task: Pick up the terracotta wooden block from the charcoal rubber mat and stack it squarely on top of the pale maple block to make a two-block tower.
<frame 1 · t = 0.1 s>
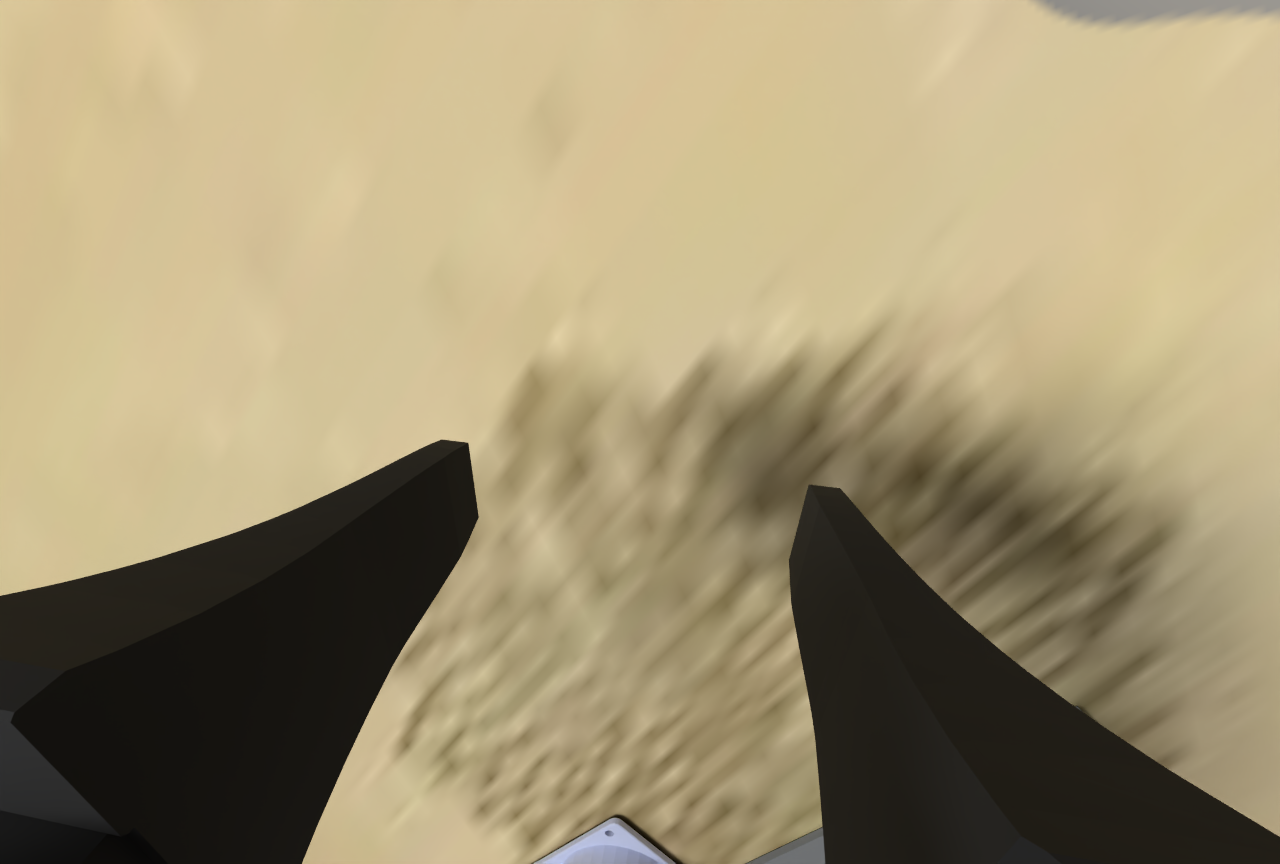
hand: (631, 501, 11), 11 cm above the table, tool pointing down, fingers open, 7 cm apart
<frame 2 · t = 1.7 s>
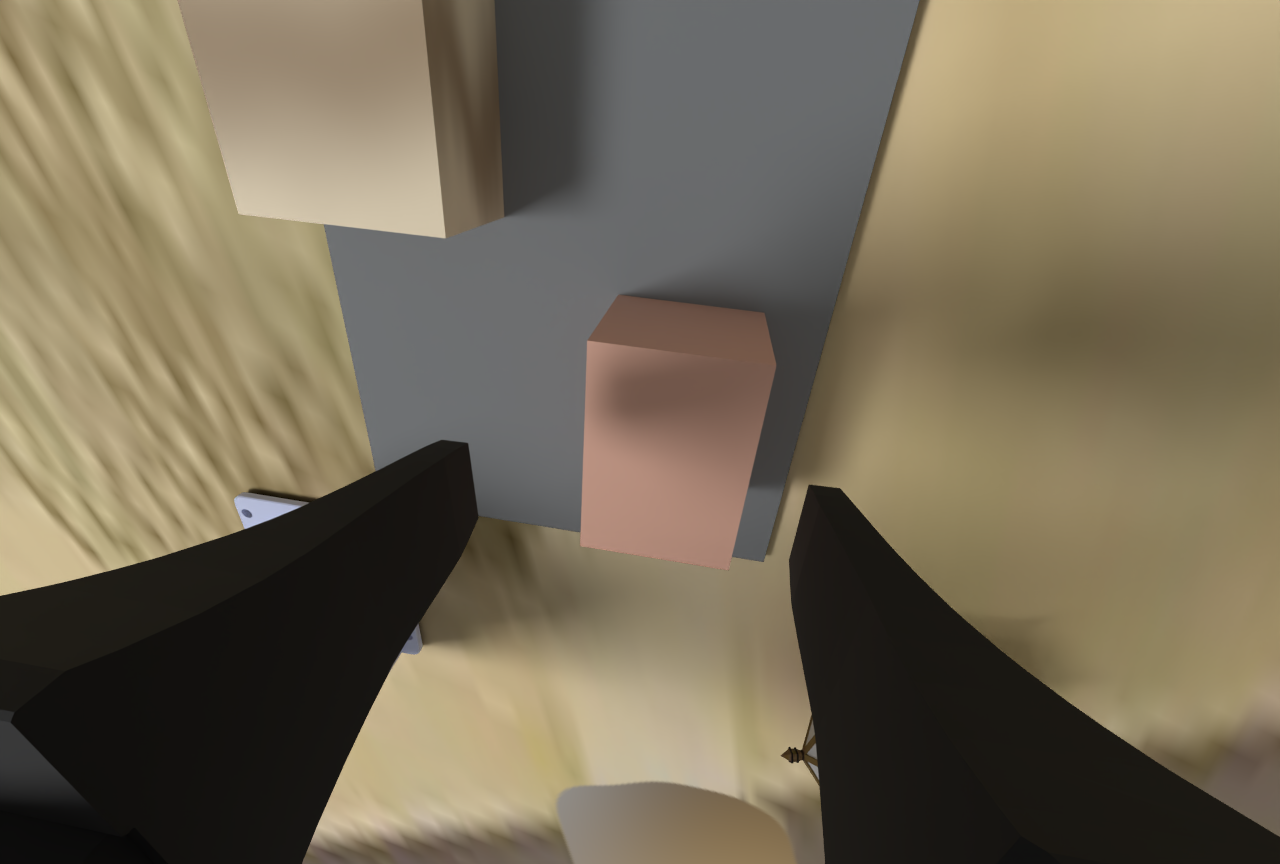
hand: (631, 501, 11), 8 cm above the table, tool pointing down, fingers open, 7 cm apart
game die: (873, 666, 25), on the table
maple block: (404, 76, 15), resting on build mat
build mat: (574, 270, 17), on the table
terracotta block: (677, 399, 19), resting on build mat
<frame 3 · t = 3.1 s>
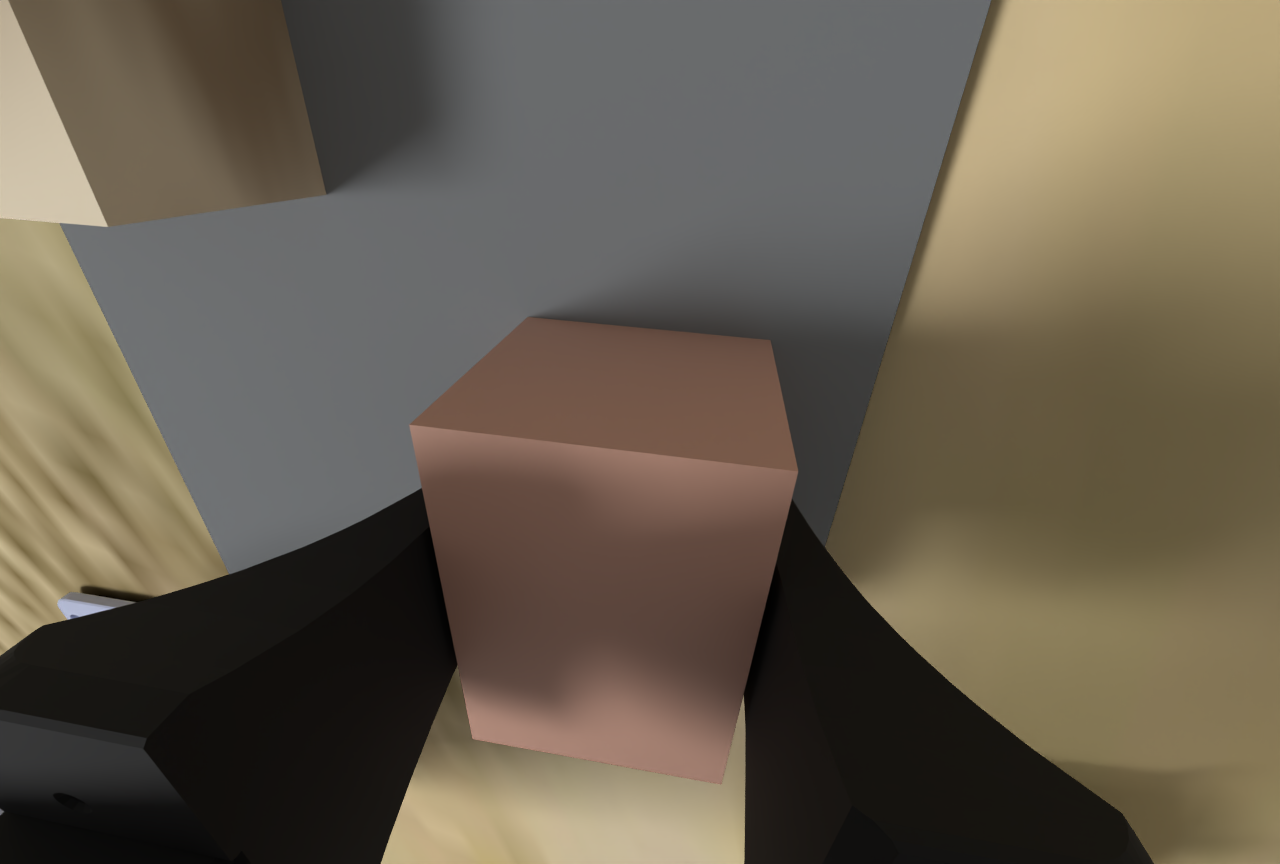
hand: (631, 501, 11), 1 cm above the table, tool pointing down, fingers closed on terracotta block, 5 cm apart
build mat: (457, 280, 11), on the table
terracotta block: (637, 475, 12), resting on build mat, touching gripper
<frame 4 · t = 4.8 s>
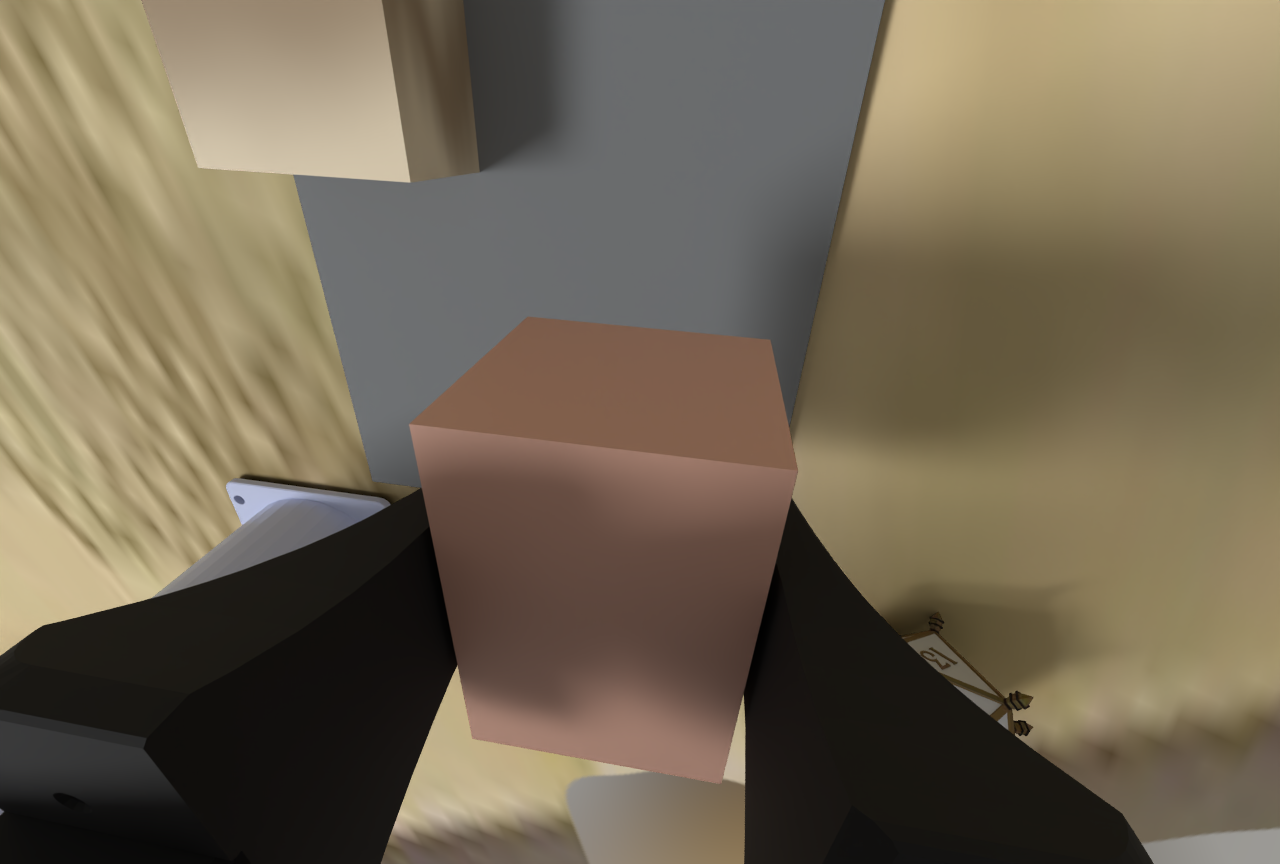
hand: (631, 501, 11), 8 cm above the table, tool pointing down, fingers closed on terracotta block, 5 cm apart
game die: (885, 642, 24), on the table
maple block: (368, 24, 14), resting on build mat
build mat: (555, 228, 17), on the table
terracotta block: (637, 474, 12), point 7 cm above the table, touching gripper
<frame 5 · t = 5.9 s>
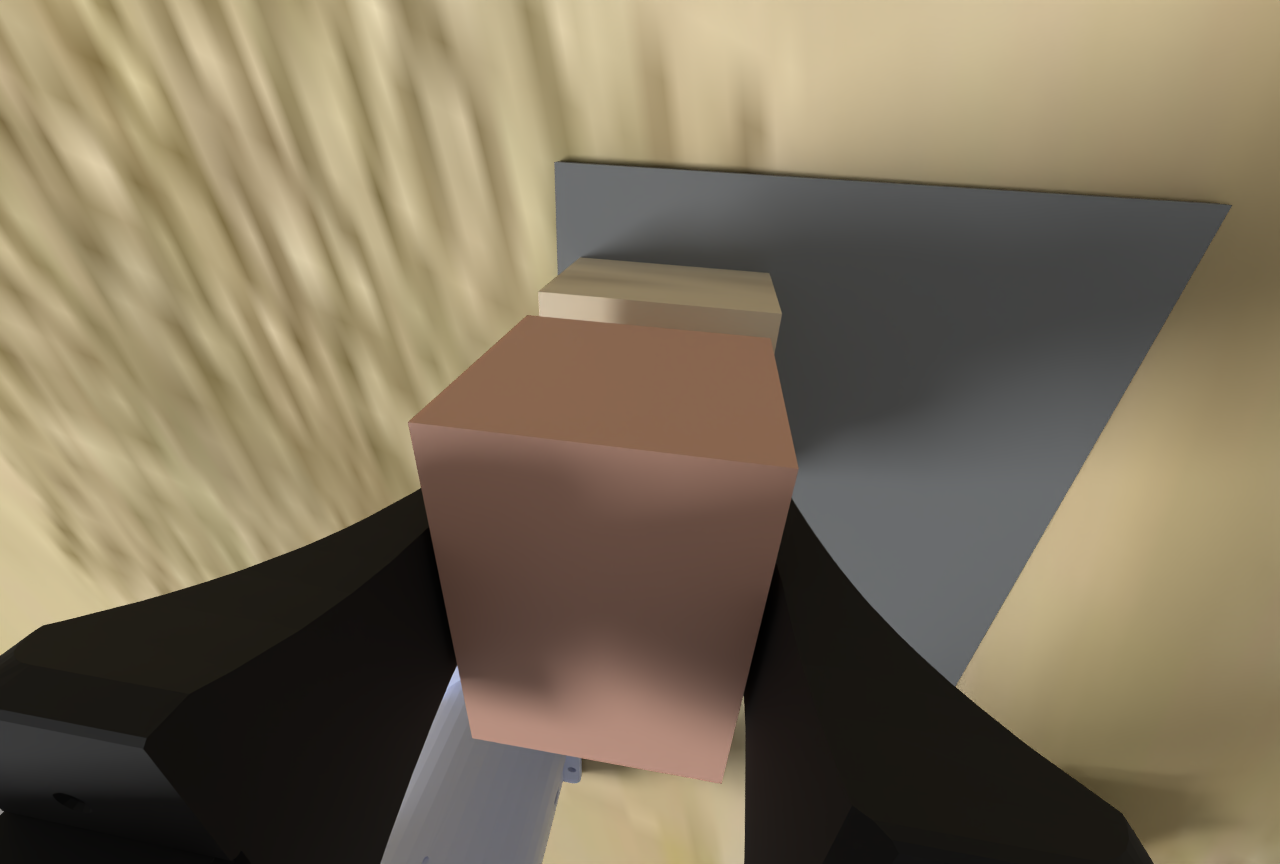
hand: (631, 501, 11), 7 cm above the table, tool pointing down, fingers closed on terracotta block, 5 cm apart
maple block: (664, 374, 17), resting on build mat
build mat: (788, 507, 19), on the table
terracotta block: (637, 473, 12), point 6 cm above the table, touching gripper
when the fingers open (6 cm above the table, at t = 6.5 s): terracotta block stays where it is, resting on maple block.
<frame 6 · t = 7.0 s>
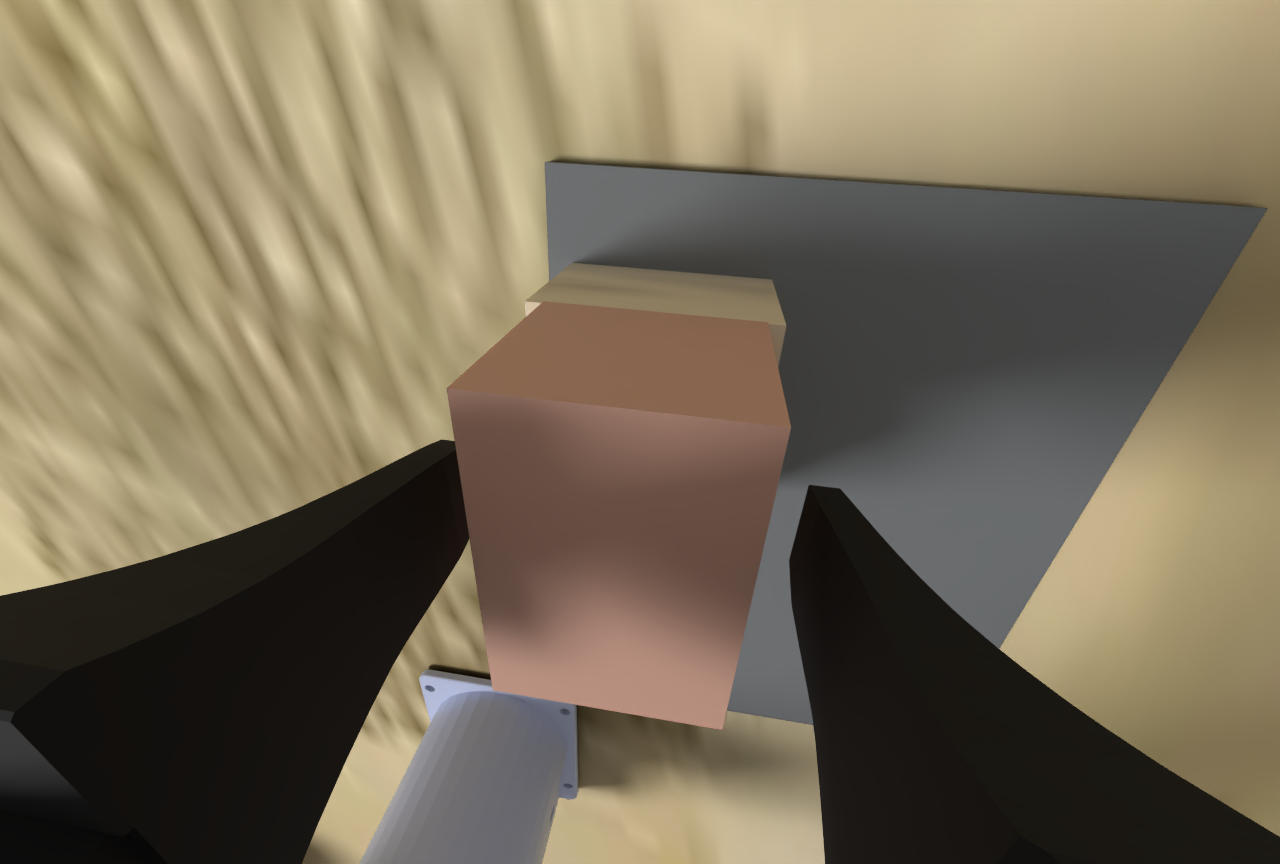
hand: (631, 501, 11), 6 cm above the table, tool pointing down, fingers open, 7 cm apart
maple block: (661, 385, 16), resting on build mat, touching terracotta block
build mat: (791, 521, 19), on the table
terracotta block: (644, 450, 13), point 4 cm above the table, touching maple block
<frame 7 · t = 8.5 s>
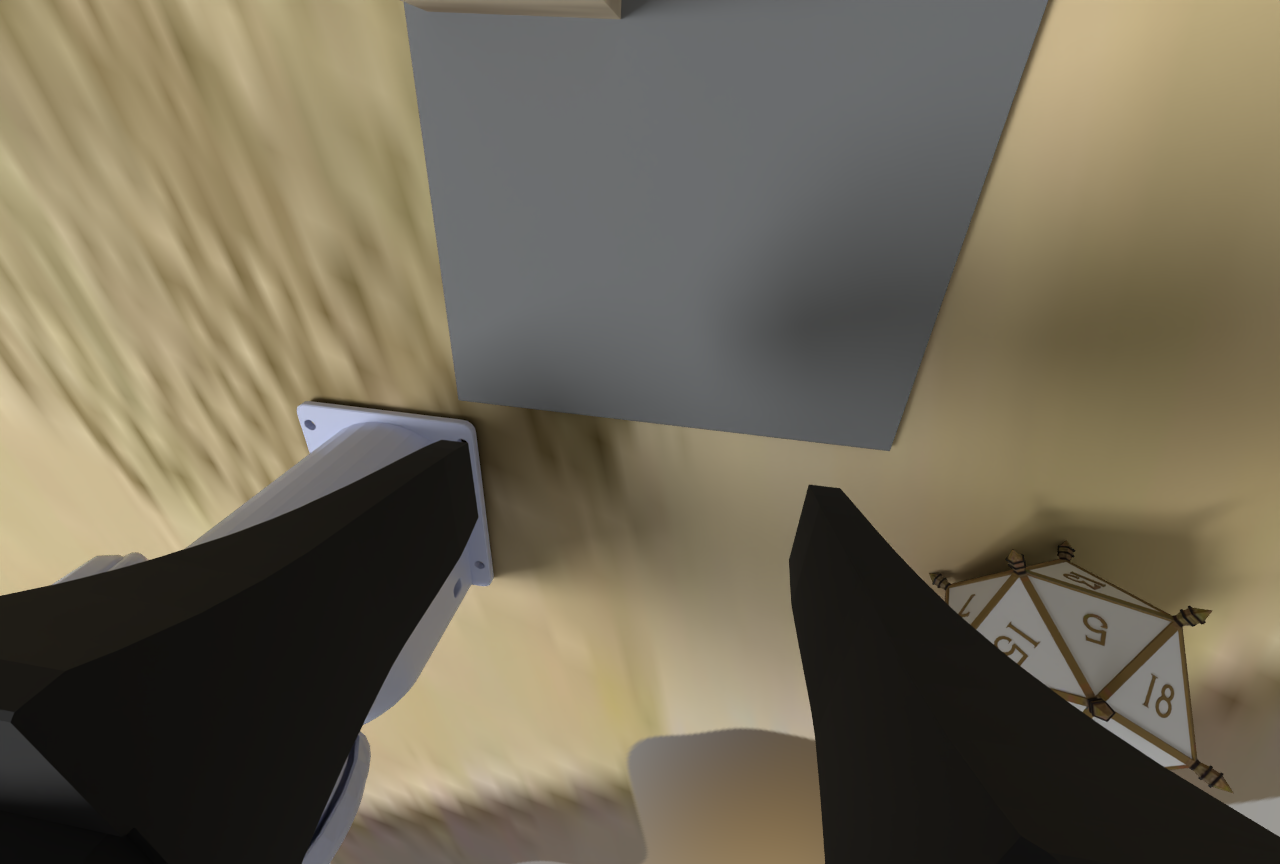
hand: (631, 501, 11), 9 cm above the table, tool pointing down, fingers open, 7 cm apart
game die: (1000, 578, 22), on the table
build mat: (696, 90, 15), on the table
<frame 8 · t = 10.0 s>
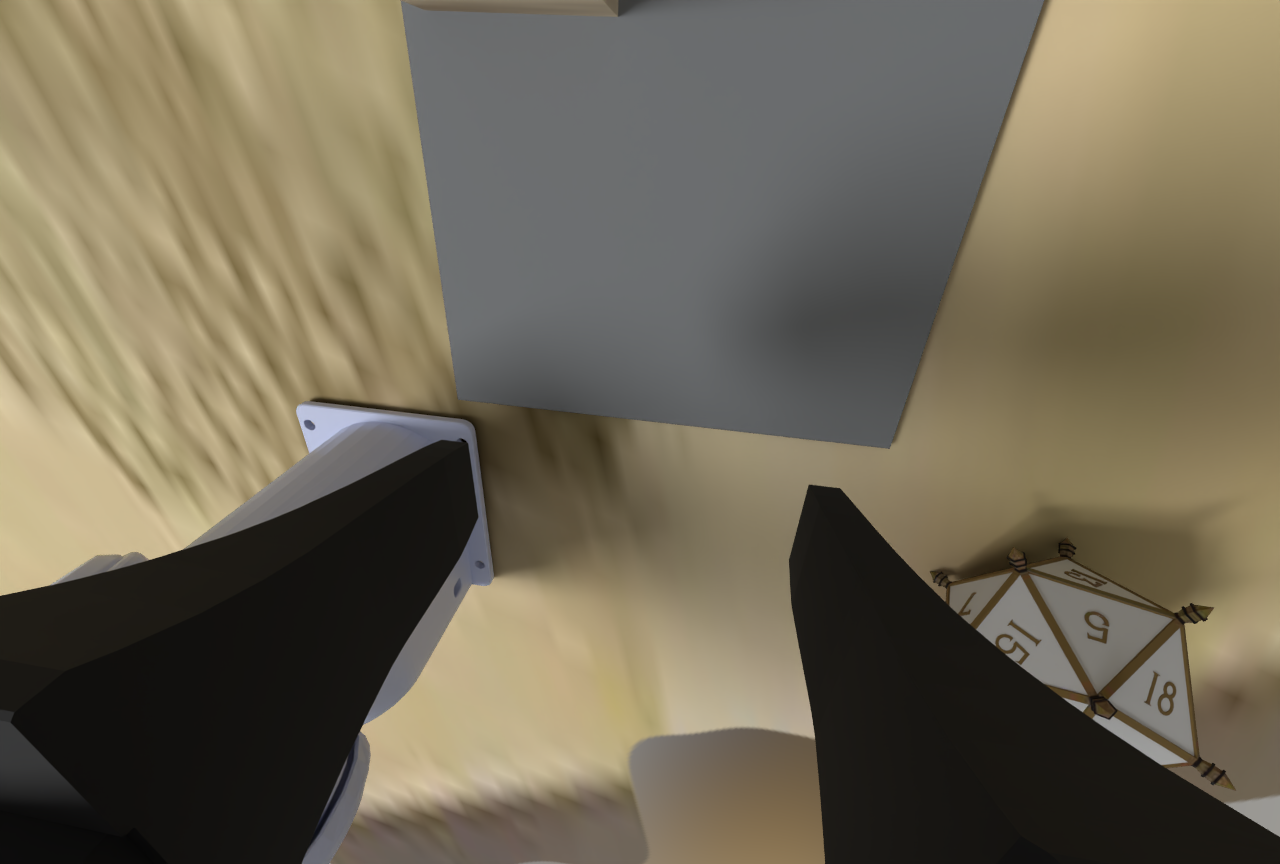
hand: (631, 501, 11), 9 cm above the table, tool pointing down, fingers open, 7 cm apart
game die: (1001, 576, 22), on the table
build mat: (693, 87, 15), on the table
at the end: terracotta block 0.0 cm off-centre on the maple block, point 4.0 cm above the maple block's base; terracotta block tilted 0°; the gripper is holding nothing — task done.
